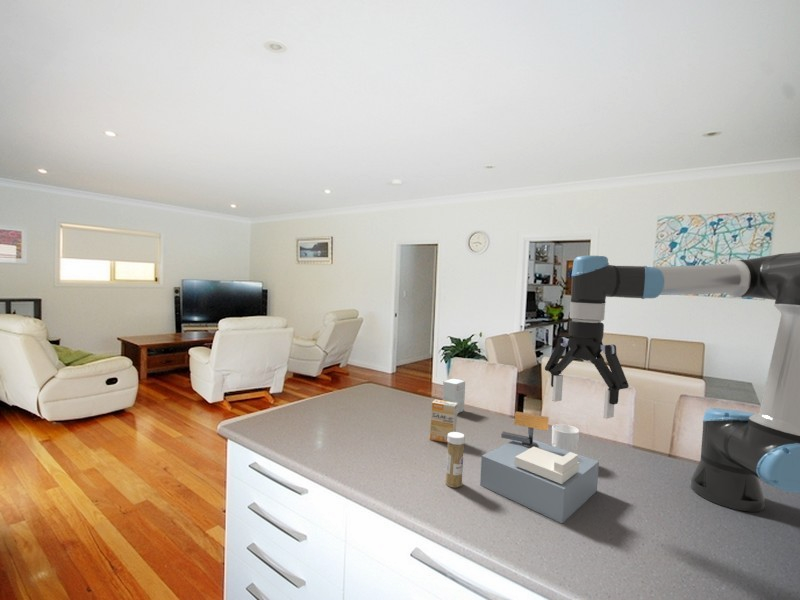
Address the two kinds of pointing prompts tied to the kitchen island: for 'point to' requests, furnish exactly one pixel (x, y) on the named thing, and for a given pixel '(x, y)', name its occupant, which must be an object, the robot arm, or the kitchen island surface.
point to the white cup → (565, 437)
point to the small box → (454, 392)
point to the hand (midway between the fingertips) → (581, 408)
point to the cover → (548, 464)
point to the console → (538, 481)
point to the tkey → (530, 422)
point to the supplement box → (443, 419)
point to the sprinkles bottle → (454, 459)
